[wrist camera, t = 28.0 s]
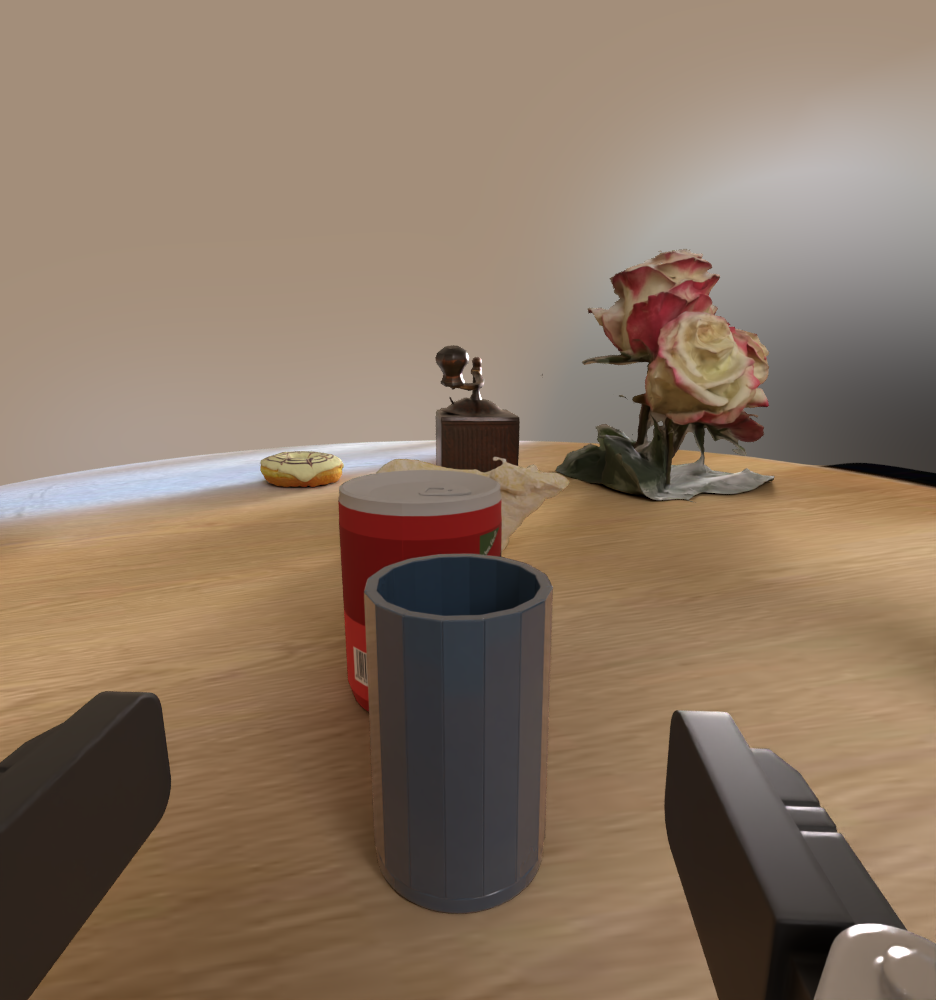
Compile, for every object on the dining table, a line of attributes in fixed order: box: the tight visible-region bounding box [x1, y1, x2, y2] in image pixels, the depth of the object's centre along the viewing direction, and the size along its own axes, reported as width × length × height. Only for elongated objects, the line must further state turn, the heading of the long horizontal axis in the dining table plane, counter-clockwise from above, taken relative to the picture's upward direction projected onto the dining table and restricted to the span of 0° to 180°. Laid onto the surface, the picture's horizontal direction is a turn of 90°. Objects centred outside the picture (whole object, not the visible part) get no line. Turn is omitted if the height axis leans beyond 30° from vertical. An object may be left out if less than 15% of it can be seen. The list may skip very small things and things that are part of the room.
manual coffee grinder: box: [436, 346, 519, 473], centre depth 82 cm, size 16×11×18 cm
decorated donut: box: [261, 451, 344, 487], centre depth 85 cm, size 10×11×4 cm
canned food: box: [338, 470, 502, 712], centre depth 32 cm, size 8×8×11 cm
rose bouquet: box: [542, 249, 774, 503], centre depth 84 cm, size 26×29×30 cm
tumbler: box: [364, 554, 553, 913], centre depth 22 cm, size 6×6×10 cm
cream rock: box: [377, 457, 569, 552], centre depth 53 cm, size 15×7×15 cm
